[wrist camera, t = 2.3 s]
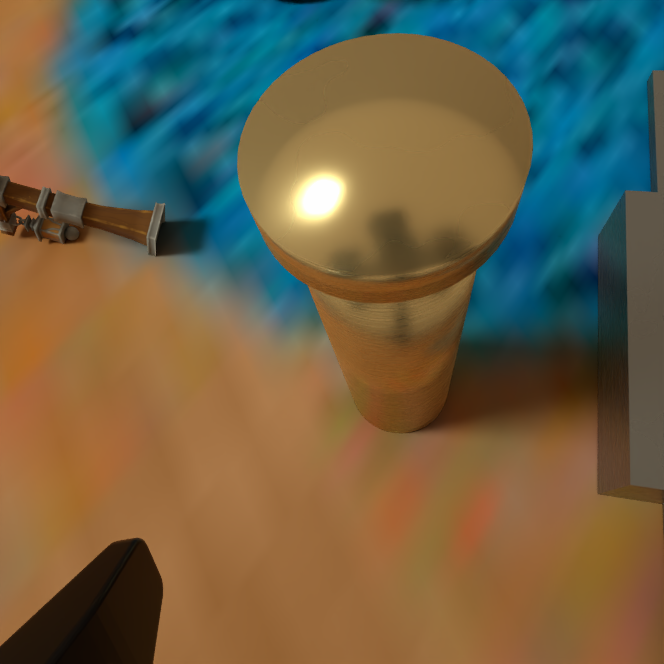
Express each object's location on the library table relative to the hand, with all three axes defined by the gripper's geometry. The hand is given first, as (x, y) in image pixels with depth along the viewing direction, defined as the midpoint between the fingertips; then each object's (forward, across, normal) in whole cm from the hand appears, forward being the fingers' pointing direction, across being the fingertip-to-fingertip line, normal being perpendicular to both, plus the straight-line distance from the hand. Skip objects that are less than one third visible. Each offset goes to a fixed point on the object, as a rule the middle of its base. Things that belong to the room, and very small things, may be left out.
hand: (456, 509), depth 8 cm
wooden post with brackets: (+19, +12, -1) cm, 23 cm away
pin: (+12, 0, +5) cm, 13 cm away
